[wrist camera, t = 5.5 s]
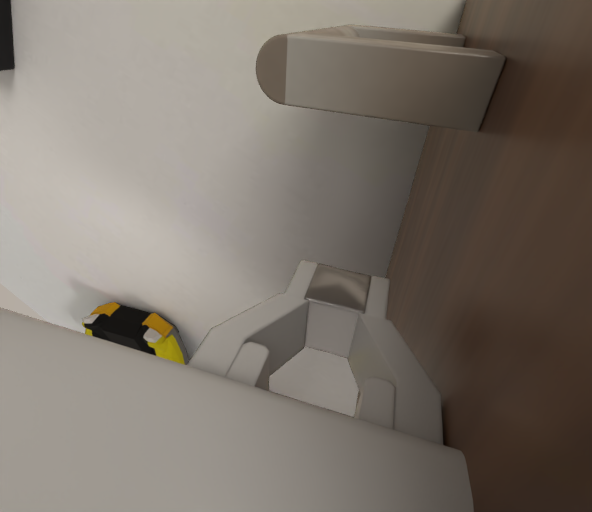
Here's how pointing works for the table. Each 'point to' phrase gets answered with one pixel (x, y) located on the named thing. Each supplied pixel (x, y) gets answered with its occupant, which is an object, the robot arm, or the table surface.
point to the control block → (6, 36)
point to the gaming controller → (136, 331)
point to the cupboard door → (484, 226)
